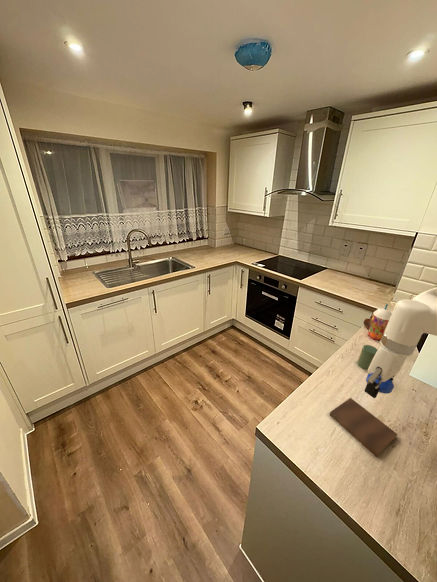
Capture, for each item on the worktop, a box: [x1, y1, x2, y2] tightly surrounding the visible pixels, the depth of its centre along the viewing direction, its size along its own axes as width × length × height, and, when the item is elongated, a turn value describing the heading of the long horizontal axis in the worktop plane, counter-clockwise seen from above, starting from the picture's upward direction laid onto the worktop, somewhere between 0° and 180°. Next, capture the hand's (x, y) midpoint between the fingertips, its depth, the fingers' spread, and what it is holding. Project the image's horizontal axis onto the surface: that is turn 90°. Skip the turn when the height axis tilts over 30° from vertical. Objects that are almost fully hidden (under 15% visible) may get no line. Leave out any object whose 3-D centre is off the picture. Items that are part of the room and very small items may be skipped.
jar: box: [356, 344, 378, 371], centre depth 103 cm, size 6×6×9 cm
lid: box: [365, 372, 395, 394], centre depth 71 cm, size 7×7×2 cm
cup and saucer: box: [363, 315, 373, 330], centre depth 132 cm, size 12×12×6 cm
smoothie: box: [367, 303, 392, 341], centre depth 121 cm, size 8×8×20 cm
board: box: [329, 397, 398, 458], centre depth 78 cm, size 16×12×2 cm
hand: (376, 389), depth 72 cm, fingers closed on lid, 6 cm apart
